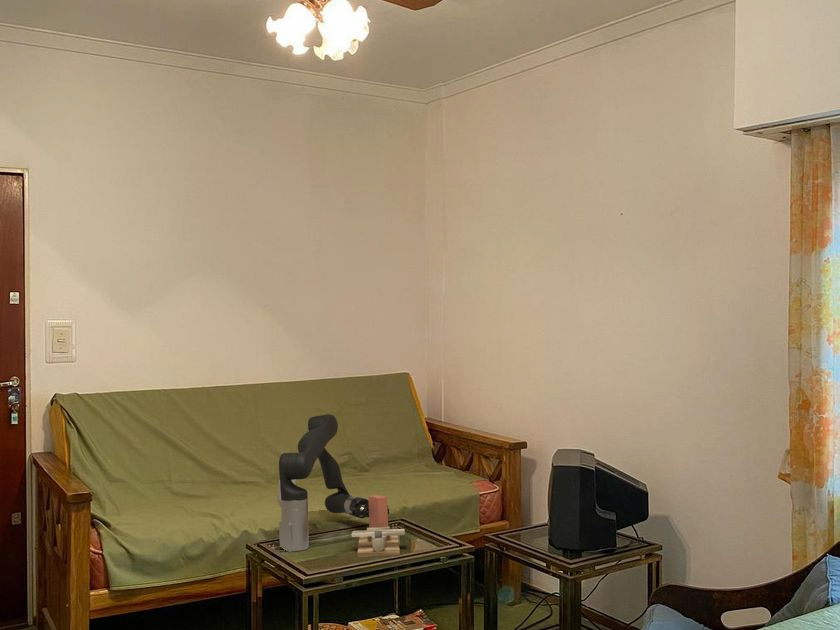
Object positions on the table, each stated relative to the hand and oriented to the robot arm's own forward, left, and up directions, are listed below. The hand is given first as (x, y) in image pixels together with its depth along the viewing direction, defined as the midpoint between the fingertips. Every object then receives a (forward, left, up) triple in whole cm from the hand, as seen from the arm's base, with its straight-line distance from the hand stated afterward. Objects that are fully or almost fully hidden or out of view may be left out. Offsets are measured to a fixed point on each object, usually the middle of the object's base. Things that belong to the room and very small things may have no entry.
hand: (378, 512), depth 315 cm
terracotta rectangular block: (0, 0, -8) cm, 8 cm away
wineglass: (-23, +25, -8) cm, 35 cm away
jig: (-13, -15, -8) cm, 22 cm away
